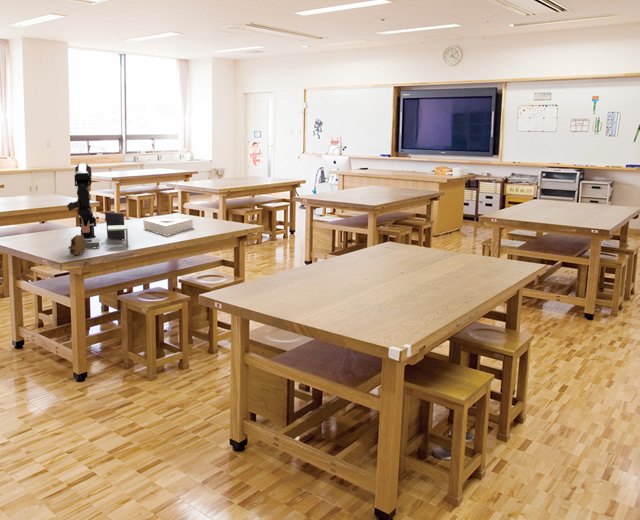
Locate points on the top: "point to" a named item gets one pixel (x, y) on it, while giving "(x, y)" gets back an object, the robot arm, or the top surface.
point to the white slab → (168, 225)
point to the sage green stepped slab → (119, 227)
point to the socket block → (91, 243)
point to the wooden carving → (77, 245)
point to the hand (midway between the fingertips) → (85, 225)
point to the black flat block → (113, 220)
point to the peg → (85, 227)
